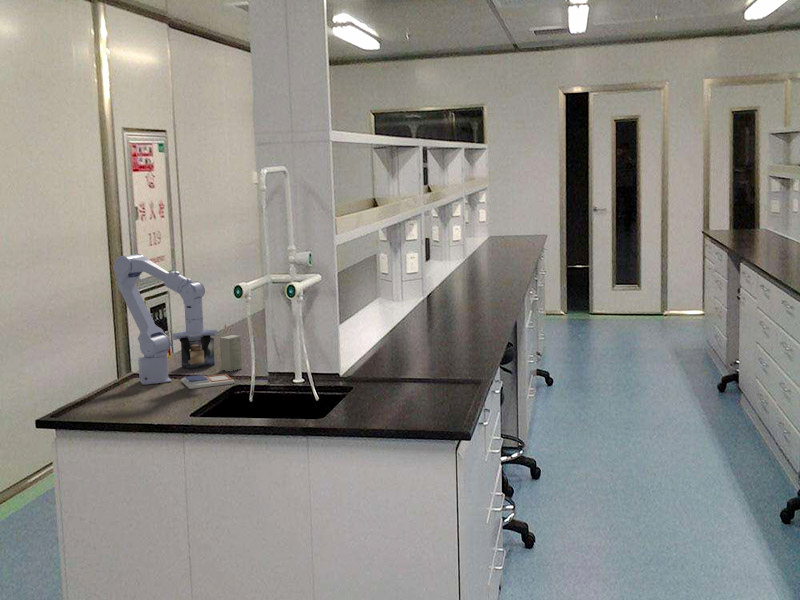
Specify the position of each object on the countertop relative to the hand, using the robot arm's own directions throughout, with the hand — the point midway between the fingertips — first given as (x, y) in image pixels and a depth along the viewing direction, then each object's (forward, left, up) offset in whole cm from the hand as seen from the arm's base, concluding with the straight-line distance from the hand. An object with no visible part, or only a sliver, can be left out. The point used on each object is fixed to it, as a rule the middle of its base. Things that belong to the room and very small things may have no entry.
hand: (196, 359), depth 285 cm
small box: (+7, +29, -9) cm, 31 cm away
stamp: (0, 0, -2) cm, 2 cm away
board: (+3, 0, -8) cm, 9 cm away
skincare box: (+16, +16, -9) cm, 24 cm away
